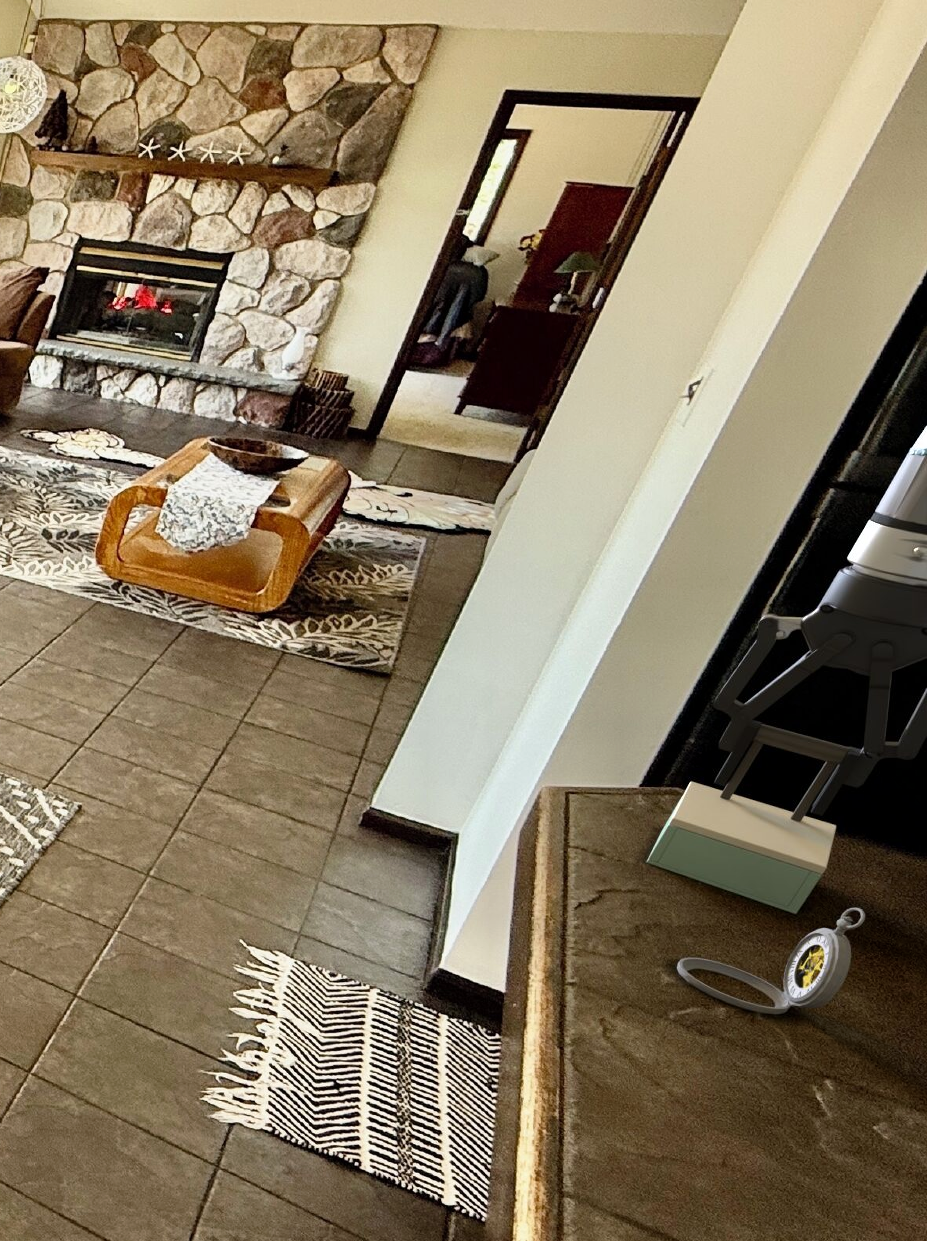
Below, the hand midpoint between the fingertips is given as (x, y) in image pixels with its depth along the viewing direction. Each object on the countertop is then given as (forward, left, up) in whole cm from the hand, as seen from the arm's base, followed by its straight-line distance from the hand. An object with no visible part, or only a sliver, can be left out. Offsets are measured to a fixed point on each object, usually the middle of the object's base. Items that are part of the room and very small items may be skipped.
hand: (768, 795), depth 116 cm
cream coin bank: (+1, +4, -3) cm, 5 cm away
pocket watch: (+6, +33, -8) cm, 34 cm away
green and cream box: (+1, +4, -8) cm, 9 cm away
